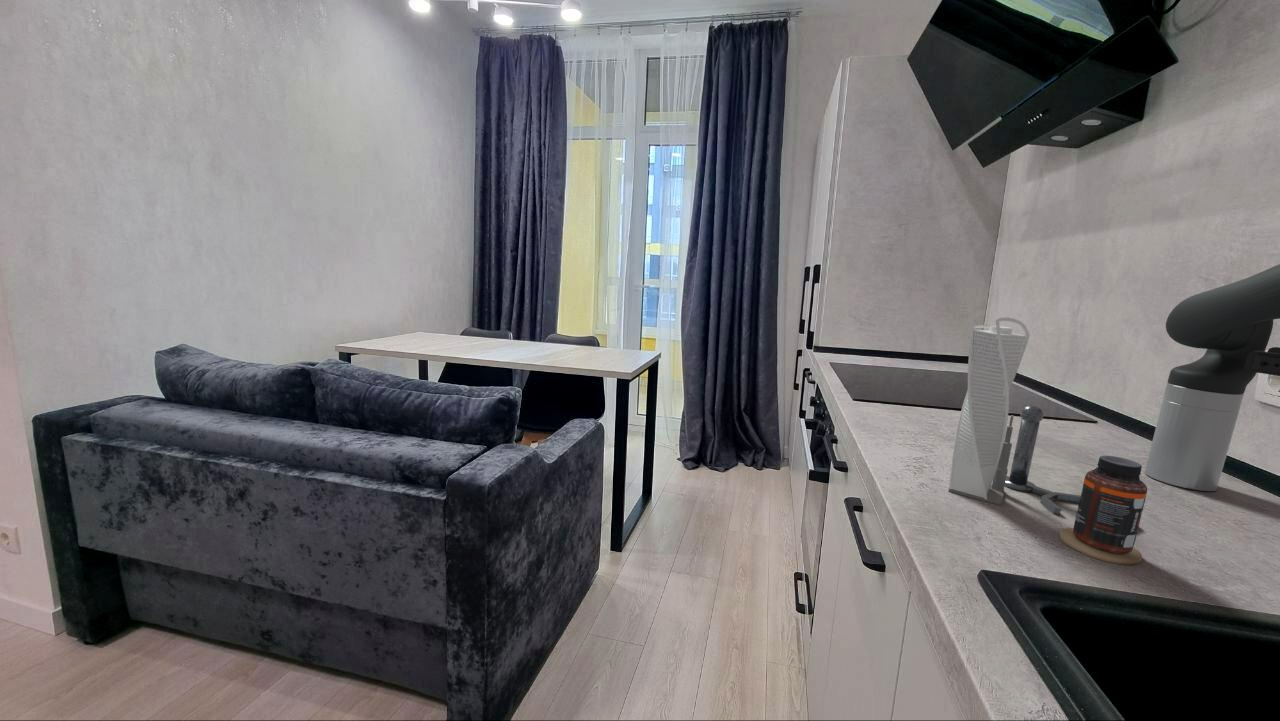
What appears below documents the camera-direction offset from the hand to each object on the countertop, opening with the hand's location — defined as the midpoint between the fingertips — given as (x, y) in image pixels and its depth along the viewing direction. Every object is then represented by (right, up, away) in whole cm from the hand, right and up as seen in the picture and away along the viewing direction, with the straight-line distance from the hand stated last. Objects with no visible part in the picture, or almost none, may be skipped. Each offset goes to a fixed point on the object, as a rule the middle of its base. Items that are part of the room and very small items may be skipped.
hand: (1257, 357), depth 58 cm
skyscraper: (-16, -21, +25) cm, 37 cm away
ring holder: (-4, -22, +23) cm, 32 cm away
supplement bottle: (-9, -24, +10) cm, 27 cm away
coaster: (-9, -25, +10) cm, 28 cm away
